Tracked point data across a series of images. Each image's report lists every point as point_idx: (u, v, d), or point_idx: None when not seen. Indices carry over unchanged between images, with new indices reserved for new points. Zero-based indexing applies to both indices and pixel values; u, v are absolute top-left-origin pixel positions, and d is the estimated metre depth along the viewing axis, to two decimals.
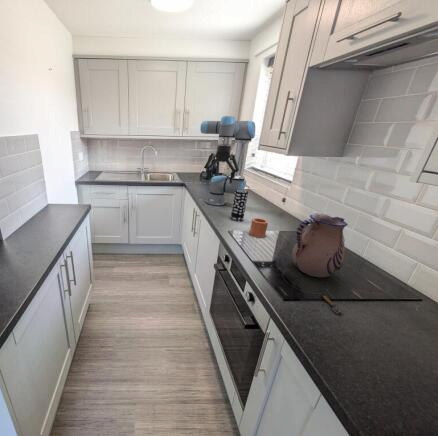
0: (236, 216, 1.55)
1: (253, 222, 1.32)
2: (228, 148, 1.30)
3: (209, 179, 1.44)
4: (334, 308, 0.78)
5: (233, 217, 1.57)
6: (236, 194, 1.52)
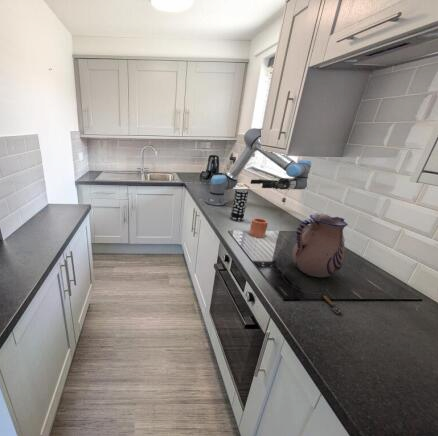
0: (236, 216, 1.55)
1: (253, 222, 1.32)
2: None
3: (263, 184, 1.46)
4: (334, 308, 0.78)
5: (233, 217, 1.57)
6: (236, 194, 1.52)
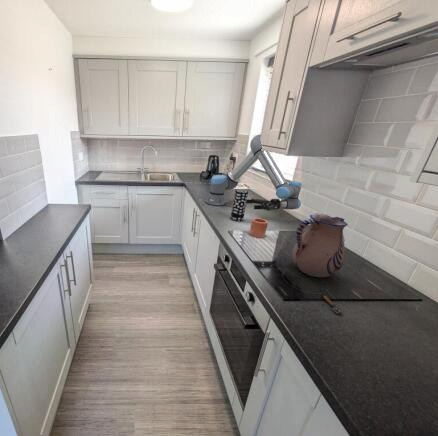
0: (236, 216, 1.55)
1: (253, 222, 1.32)
2: None
3: None
4: (334, 308, 0.78)
5: (233, 217, 1.57)
6: (236, 194, 1.52)
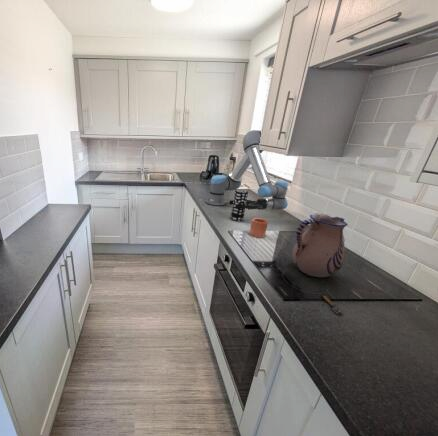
0: (236, 216, 1.55)
1: (253, 222, 1.32)
2: None
3: None
4: (334, 308, 0.78)
5: (233, 217, 1.57)
6: (236, 194, 1.52)
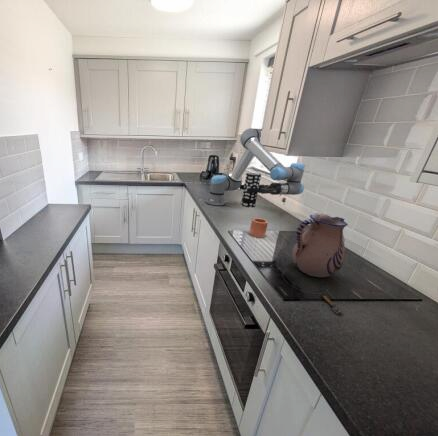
0: (247, 202, 1.41)
1: (253, 222, 1.32)
2: None
3: (248, 188, 1.37)
4: (334, 308, 0.78)
5: (244, 203, 1.43)
6: (248, 177, 1.38)
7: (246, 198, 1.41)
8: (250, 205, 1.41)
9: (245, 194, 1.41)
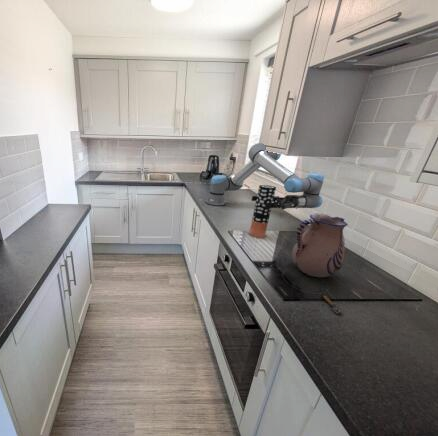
0: (260, 217, 1.28)
1: (253, 222, 1.32)
2: None
3: (266, 203, 1.22)
4: (334, 308, 0.78)
5: (256, 218, 1.30)
6: (261, 190, 1.25)
7: (259, 213, 1.28)
8: (263, 220, 1.29)
9: (258, 208, 1.28)
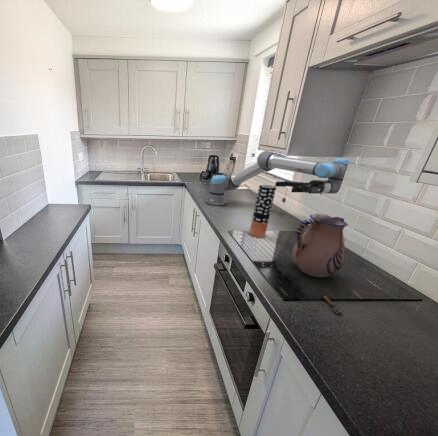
0: (260, 217, 1.28)
1: (253, 222, 1.32)
2: None
3: None
4: (334, 308, 0.78)
5: (256, 218, 1.30)
6: (261, 190, 1.25)
7: (259, 213, 1.28)
8: (263, 220, 1.29)
9: (258, 208, 1.28)
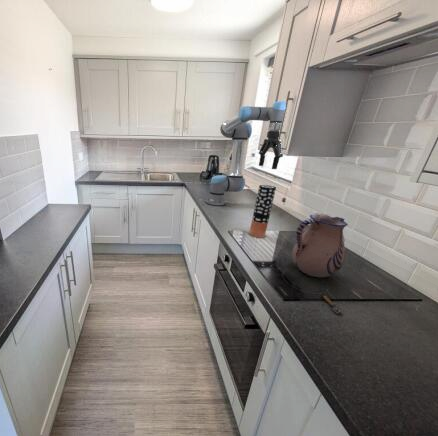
0: (260, 217, 1.28)
1: (253, 222, 1.32)
2: (274, 133, 1.33)
3: (262, 165, 1.49)
4: (334, 308, 0.78)
5: (256, 218, 1.30)
6: (261, 190, 1.25)
7: (259, 213, 1.28)
8: (263, 220, 1.29)
9: (258, 208, 1.28)
